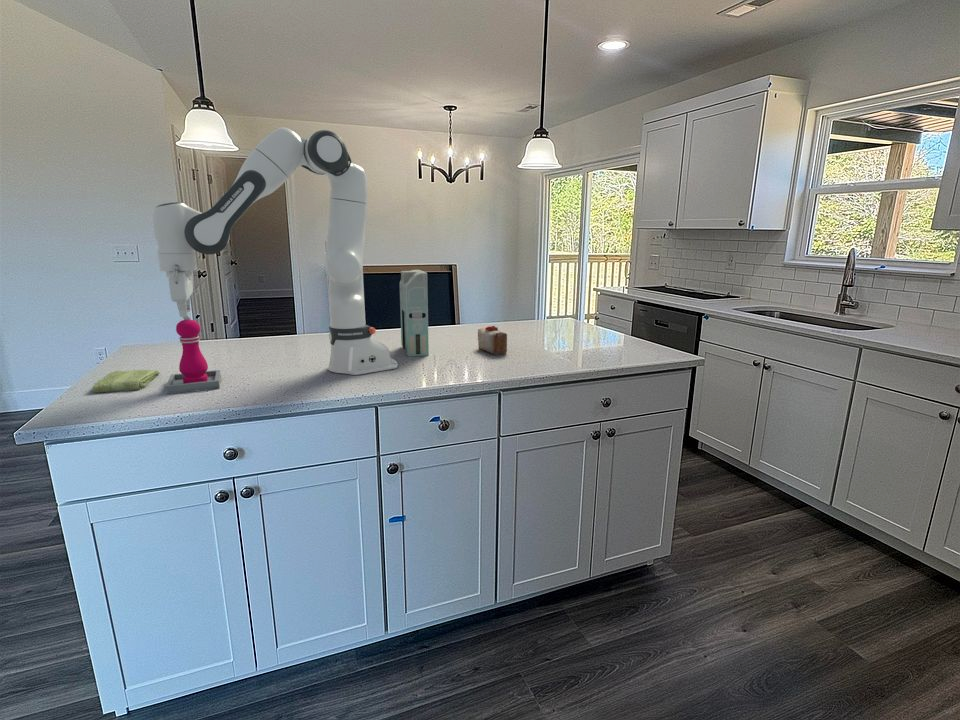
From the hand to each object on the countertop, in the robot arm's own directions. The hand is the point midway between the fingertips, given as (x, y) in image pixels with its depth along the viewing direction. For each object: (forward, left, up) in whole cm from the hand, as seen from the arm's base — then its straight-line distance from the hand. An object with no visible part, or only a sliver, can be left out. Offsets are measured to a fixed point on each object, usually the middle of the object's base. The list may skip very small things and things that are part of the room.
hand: (185, 313), depth 139 cm
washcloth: (+18, -10, -22) cm, 30 cm away
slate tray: (0, 0, -21) cm, 21 cm away
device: (-72, -16, -21) cm, 77 cm away
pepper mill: (0, 0, -20) cm, 20 cm away
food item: (-99, -4, -21) cm, 102 cm away
